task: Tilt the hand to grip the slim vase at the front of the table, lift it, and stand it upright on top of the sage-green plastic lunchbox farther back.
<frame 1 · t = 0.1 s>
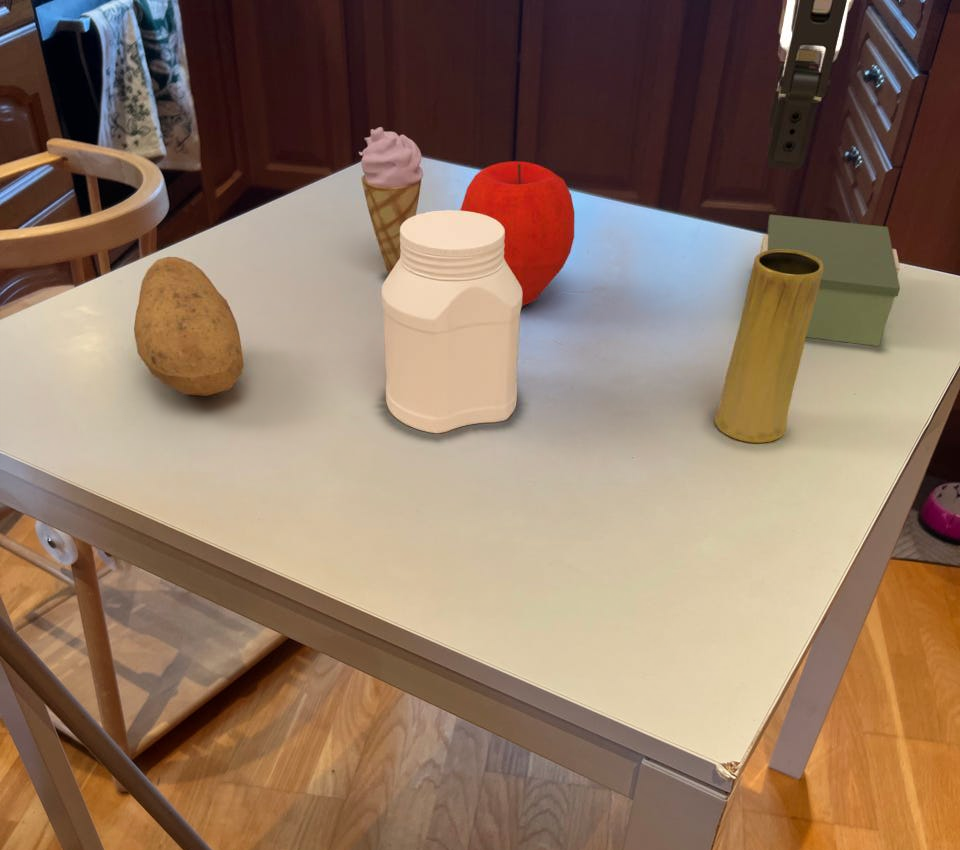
hand: (783, 146, 62), 24 cm above the table, tool pointing down, fingers open, 8 cm apart
lunchbox: (815, 305, 102), on the table
jar: (451, 403, 86), on the table
apple: (513, 303, 102), on the table
ice cream cone: (393, 276, 106), on the table
vase: (749, 427, 84), on the table
potato: (196, 384, 87), on the table
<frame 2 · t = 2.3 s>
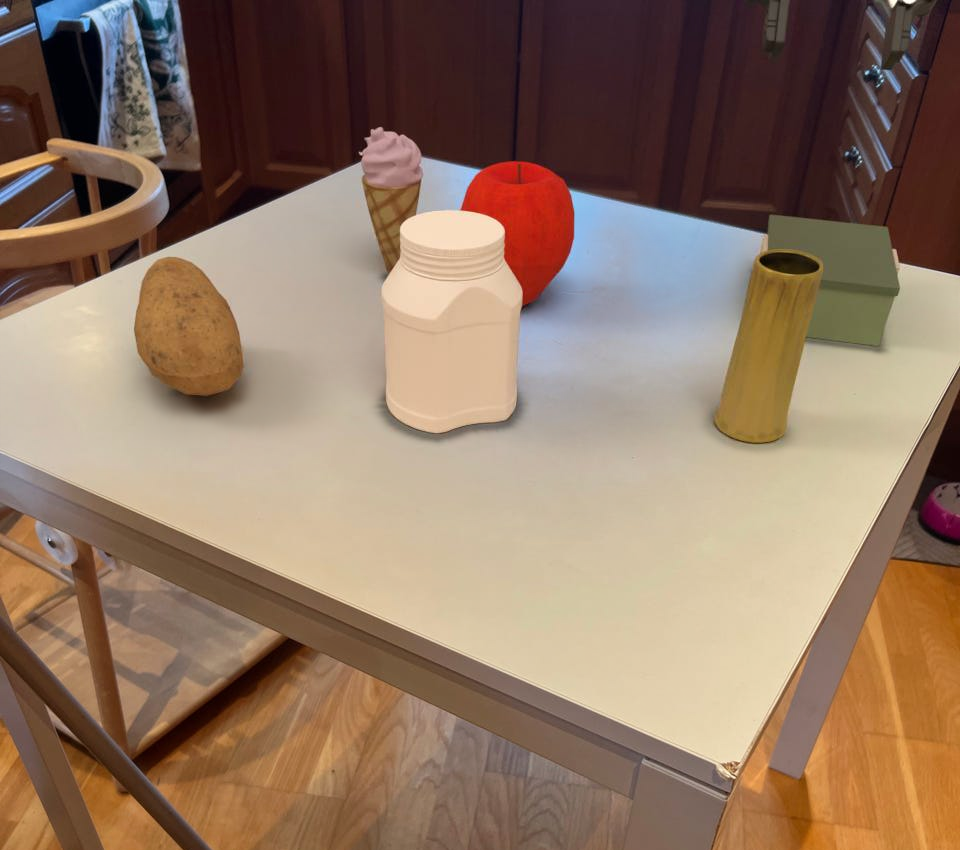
hand: (833, 59, 73), 26 cm above the table, tool tilted 40°, fingers open, 8 cm apart
nothing on the table moved.
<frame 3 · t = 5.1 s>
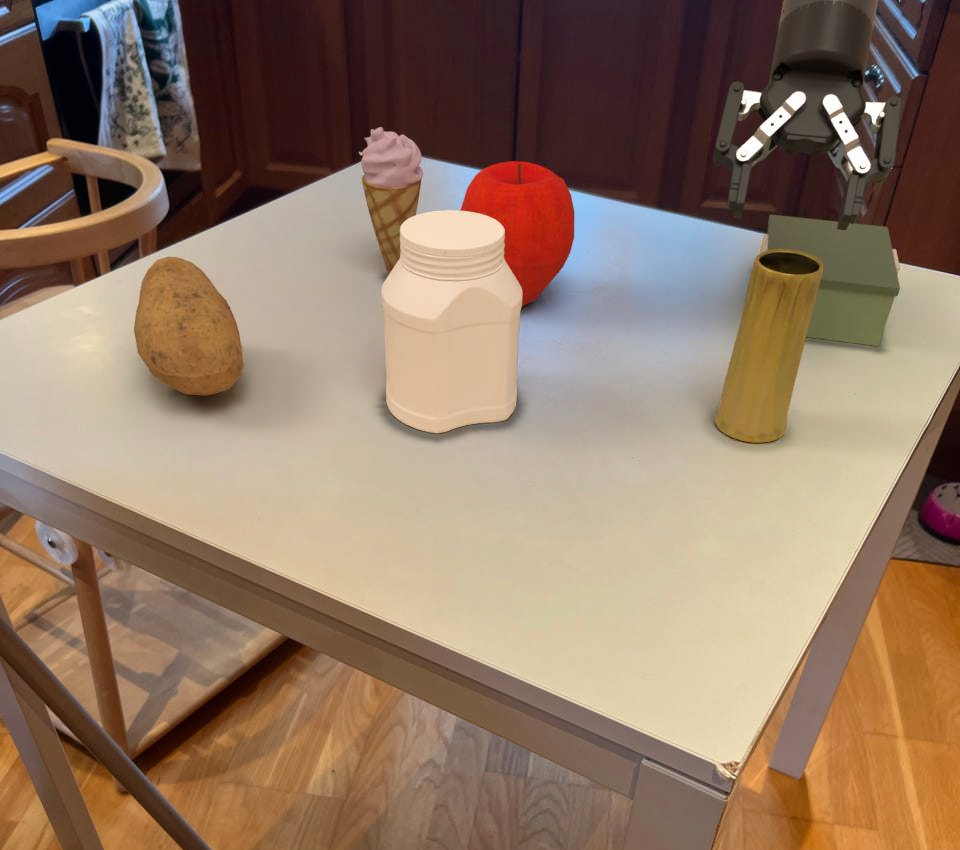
hand: (790, 219, 80), 15 cm above the table, tool tilted 45°, fingers open, 8 cm apart
nothing on the table moved.
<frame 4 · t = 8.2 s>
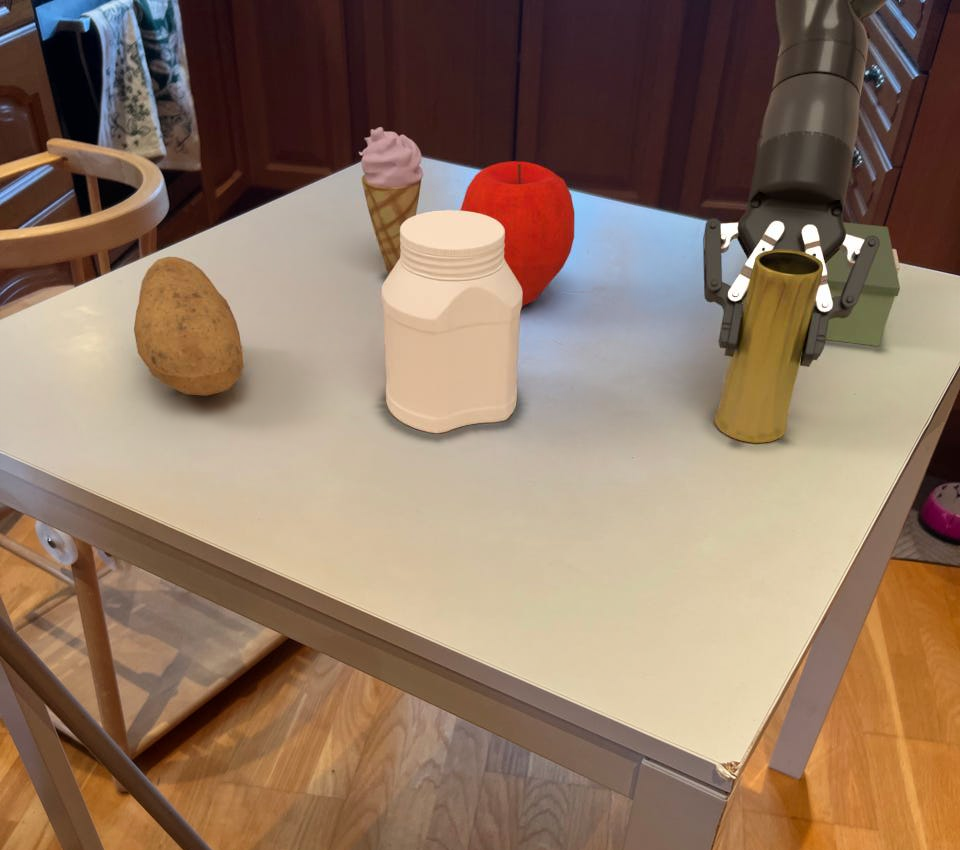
hand: (768, 357, 78), 7 cm above the table, tool tilted 45°, fingers closed on vase, 5 cm apart
vase: (749, 427, 84), on the table, touching gripper
everything else where it was.
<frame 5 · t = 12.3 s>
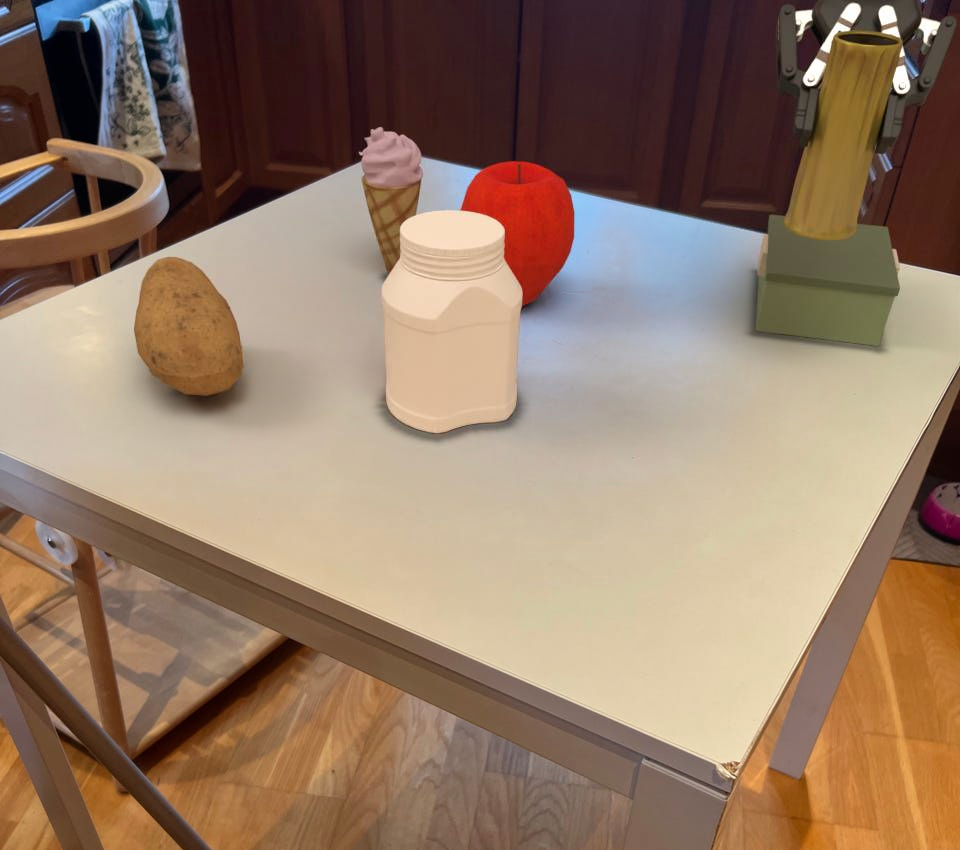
hand: (843, 144, 78), 20 cm above the table, tool tilted 45°, fingers closed on vase, 5 cm apart
vase: (818, 230, 84), point 13 cm above the table, touching gripper
everything else where it was.
when the fingers open (13 cm above the table, at t = 16.6 s): vase stays where it is, resting on lunchbox.
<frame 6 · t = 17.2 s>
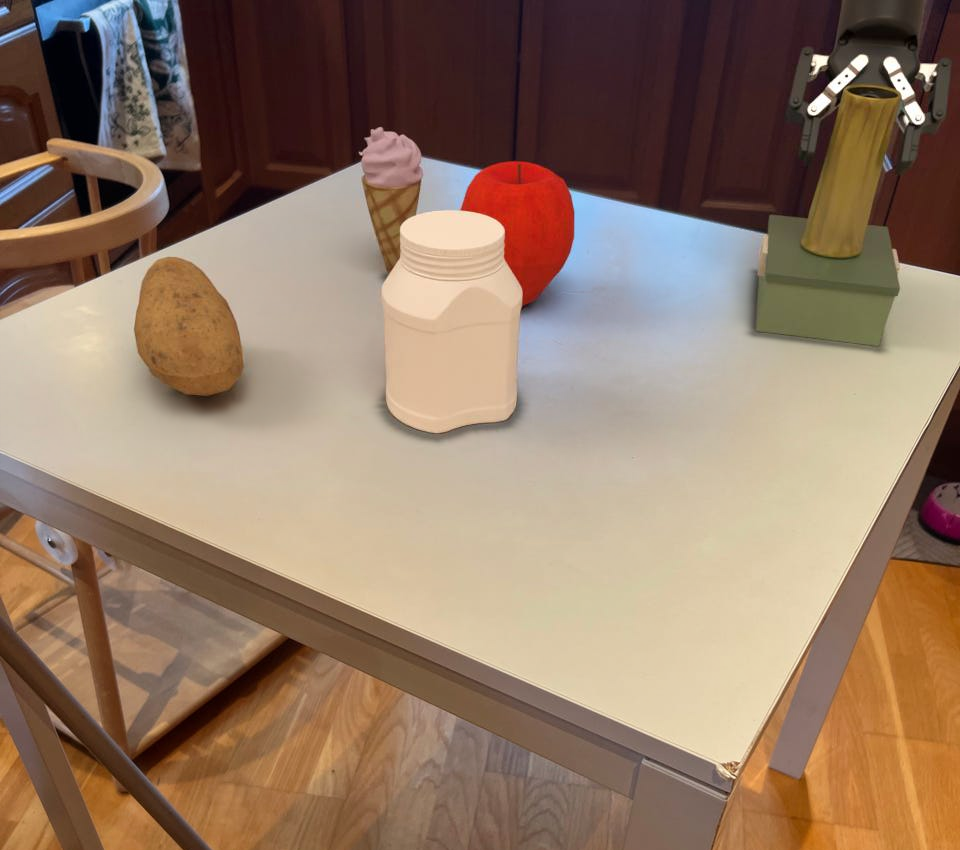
hand: (854, 166, 92), 14 cm above the table, tool tilted 45°, fingers open, 8 cm apart
vase: (830, 249, 99), point 6 cm above the table, touching lunchbox
everything else where it was.
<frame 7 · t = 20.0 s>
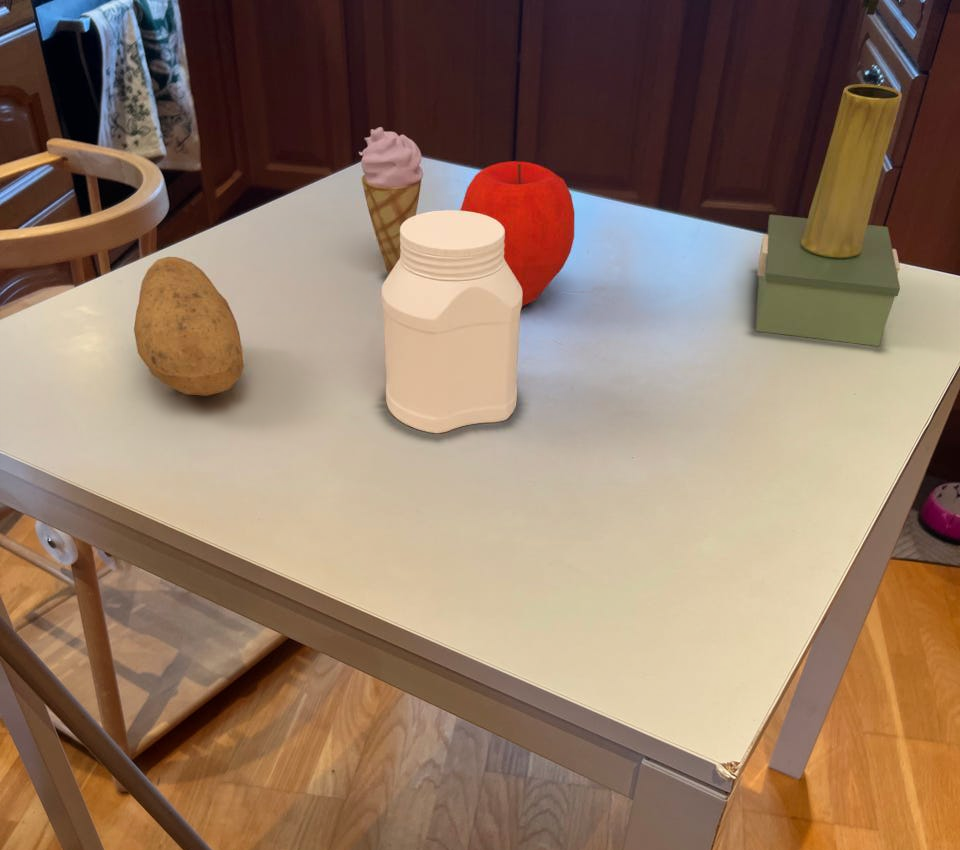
hand: (922, 12, 86), 26 cm above the table, tool tilted 45°, fingers open, 8 cm apart
nothing on the table moved.
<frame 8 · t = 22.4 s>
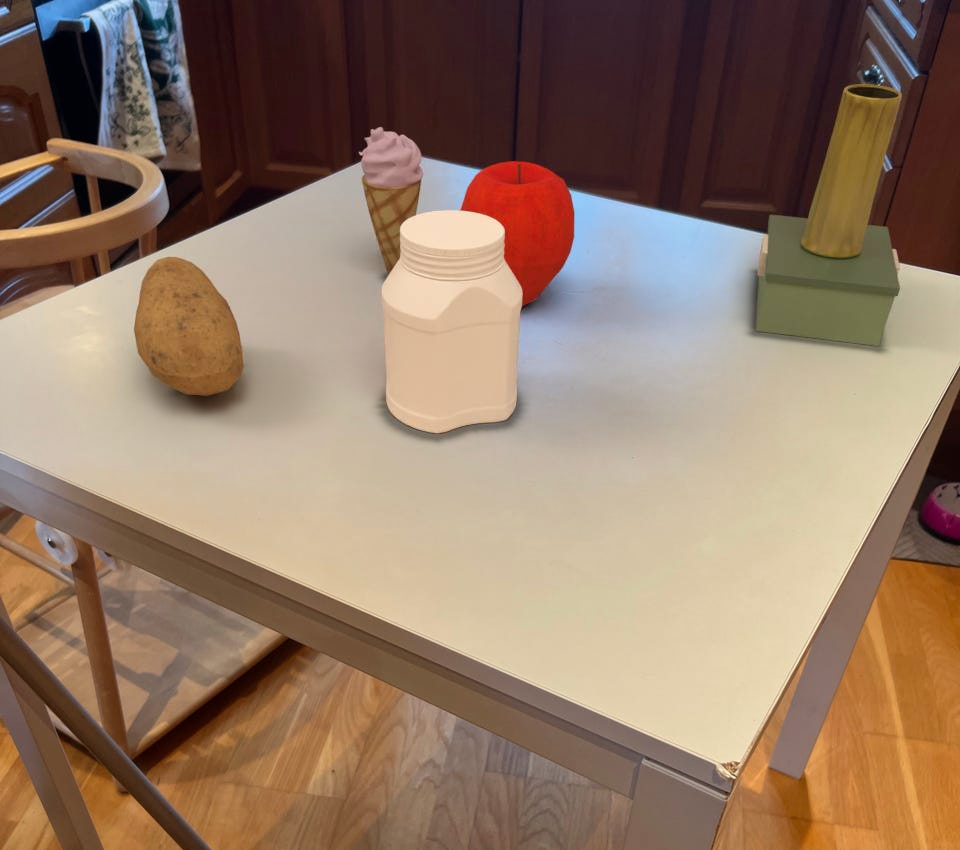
nothing on the table moved.
at the end: vase inside the target area on the lunchbox (0.2 cm from its centre), point 5.8 cm above the lunchbox's base; vase tilted 0°; the gripper is holding nothing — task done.
